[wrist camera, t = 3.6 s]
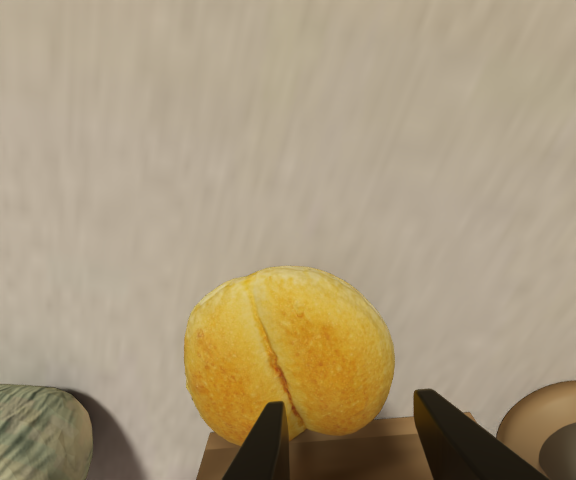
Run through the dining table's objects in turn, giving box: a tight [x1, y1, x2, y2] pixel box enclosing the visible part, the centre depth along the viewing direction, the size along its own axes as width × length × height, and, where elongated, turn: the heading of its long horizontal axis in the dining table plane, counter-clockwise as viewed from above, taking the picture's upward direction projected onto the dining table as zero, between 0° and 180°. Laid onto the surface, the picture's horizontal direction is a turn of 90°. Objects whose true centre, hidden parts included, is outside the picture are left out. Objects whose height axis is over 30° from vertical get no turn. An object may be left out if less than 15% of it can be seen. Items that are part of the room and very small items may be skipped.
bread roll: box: [184, 266, 395, 446], centre depth 13 cm, size 8×9×4 cm
